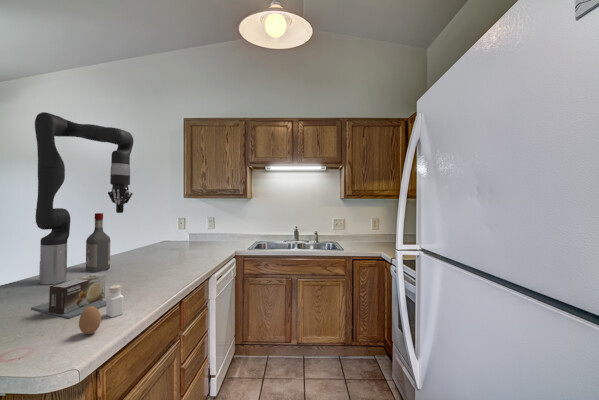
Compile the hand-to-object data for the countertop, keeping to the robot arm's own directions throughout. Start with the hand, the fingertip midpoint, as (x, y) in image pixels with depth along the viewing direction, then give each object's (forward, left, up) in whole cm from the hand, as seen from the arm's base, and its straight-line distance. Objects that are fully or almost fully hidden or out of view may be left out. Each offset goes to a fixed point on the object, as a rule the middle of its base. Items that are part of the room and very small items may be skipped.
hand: (119, 212), depth 129 cm
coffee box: (+11, -16, -27) cm, 33 cm away
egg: (+36, -36, -32) cm, 60 cm away
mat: (+10, -25, -32) cm, 42 cm away
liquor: (-31, +12, -32) cm, 46 cm away
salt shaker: (+30, -24, -32) cm, 50 cm away
